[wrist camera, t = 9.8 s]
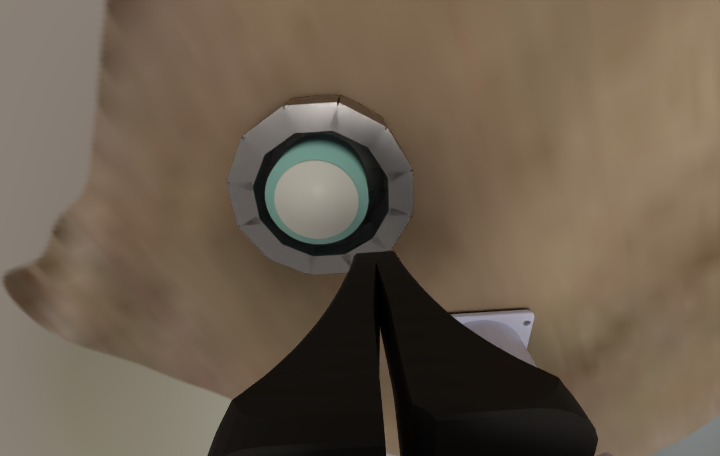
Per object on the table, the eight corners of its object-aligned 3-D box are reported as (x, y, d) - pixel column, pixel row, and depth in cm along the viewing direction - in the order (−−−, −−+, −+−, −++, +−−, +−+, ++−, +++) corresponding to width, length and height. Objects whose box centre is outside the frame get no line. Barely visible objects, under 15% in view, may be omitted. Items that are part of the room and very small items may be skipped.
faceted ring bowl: (403, 238, 22) (411, 268, 19) (265, 247, 22) (251, 278, 19) (403, 89, 18) (413, 96, 14) (232, 100, 18) (207, 110, 15)
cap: (369, 213, 20) (372, 242, 17) (287, 221, 20) (276, 251, 17) (361, 128, 18) (363, 144, 15) (268, 138, 18) (251, 156, 15)
